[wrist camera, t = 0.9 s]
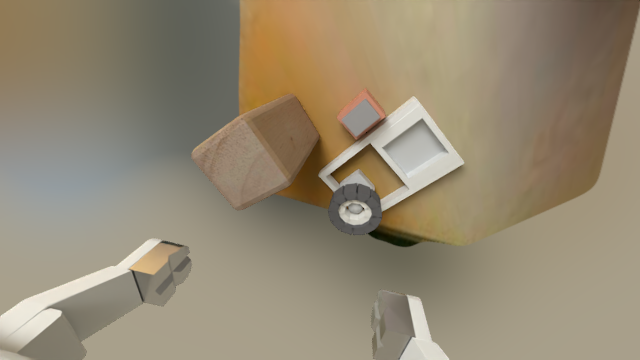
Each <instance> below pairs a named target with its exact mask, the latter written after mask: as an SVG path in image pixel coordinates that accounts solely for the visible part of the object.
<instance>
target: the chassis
mask: <svg viewBox="0 0 640 360" xmlns="http://www.w3.org/2000/svg"><path fill="white" fill-rule="evenodd" d="M369 143H371V145H372V146H373V147H374V148H375V149H376V150H377V152H378V153H379V154H380V155H381V156H382V157H383V159H384V160H385V161H386V162H387V163H388V164H389V166H390V167H391V168H392V169H393V170H394V171H395V173H396V174H397V175H398V176H399V177H400V178H401V180H402V181H403V182H404V183H405V185H404V186H402V187H400V188H399V189H397V190H395V191H394V192H392V193H391V194H389V195H387V196H386V197H384V198H383V199H381V200H380V202H381V209H382V212H383V211H384V210H386V209H388V208H389V207H391V206H393V205H395V204H396V203H398V202H400V201H401V200H403V199H405V198H406V197H408V196H410V195H412V194H413V193H415V192H417V191H418V190H420V189H422V188H423V187H425V186H427V185H429V184H430V183H432V182H434V181H435V180H437V179H439V178H440V177H442V176H444V175H446V174H447V173H449V172H451V171H452V170H454V169H456V168H457V167H459V166H461V165H463V164H464V161H463V160H462V159H461V157H460V156H459V154H458V153H457V152H456V150H455V149H454V148H453V146H452V145H451V144H450V142H449V141H448V140H447V138H446V137H445V136H444V134H443V133H442V132H441V130H440V129H439V128H438V126H437V125H436V124H435V122H434V121H433V120H432V118H431V117H430V116H429V114H428V113H427V112H426V110H425V109H424V108H423V106H422V105H421V104H420V102H419V101H418V100H417V98H415V97H414V96H413V97H412V98H410V99H409V100H408V101H407V102H405V103H404V104H403V105H402V106H400V107H399V108H398V109H397V110H395V111H394V112H393V113H392V114H390V115H389V116H388V117H387V118H385V119H384V120H383V121H382V122H380V123H379V124H378V125H376V126H375V127H374V128H373V129H371V130H370V131H369V132H368V133H366V134H365V135H364V136H363V137H361V138H360V139H359V140H358V141H356V142H355V143H354V144H353V145H351V146H350V147H349V148H348V149H346V150H345V151H344V152H343V153H341V154H340V155H339V156H338V157H336V158H335V159H334V160H333V161H331V162H330V163H329V164H328V165H326V166H325V167H324V168H323V169H321V170H320V172H319V175H318V176H319V177H320V178H321V179H322V180H323V181H324V182H325V183H326V184H327V185H328V186H329V187H330V188H331V189H332V190H333V191H334V192H335V191H336V190H337V189H339V188H340V187H342V186H343V185H344V186H345V184H353V183H357V186H358V184H359V183H360V184H362V185H365V186H368V187H370V189H371V188H372V189H373V190H374V191H375V187H374V185H373V183H372V182H371V181H370V180H369V179H368V178H367V177H366V176H365V175H364V174H363V172H362V171H361V170H360V169H358V170H356V171H355V172H353V173H352V174H351V175H349V176H348V177H347V178H345V179H344V180H342V181H341V182H340V184H339V183H338V182H337V181H336V180H335V179H334V178H333V177H332V176H331V175H330V173H332V172H333V171H334V170H335V169H337V168H338V167H339V166H341V165H342V164H343V163H345V162H346V161H347V160H348V159H350V158H351V157H352V156H354V155H355V154H356V153H358V152H359V151H360V150H361V149H363V148H364V147H365V146H367V145H368V144H369ZM348 209H349V211H350V212H351V213H354V214H357V213H360V212H362V211H363V210H364V209H363V208H362V205H361V204H356V203H351V204H349V205H348Z"/></svg>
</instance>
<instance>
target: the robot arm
mask: <svg viewBox="0 0 640 360" xmlns="http://www.w3.org/2000/svg"><path fill="white" fill-rule="evenodd" d="M189 253H190V252H189V247H187V246H184V245H180V244H176V243H172V242H168V241H164V240H159V239H156V238H153V239H149V240H148V241H146V242H145V243H144V244H143V245H142V246H140V247H139V248H138V249H137V250H135V251H134V252H133V253H132V254H130V255H129V256H128V257H127V258H126V259H124V260H123V261H122V262H121V263H119V264H118V265H117V266H116V267H115V266H110V267H108V268H105V269H102V270H100V271H97V272H95V273H92V274H89V275H87V276H84V277H82V278H79V279H77V280H74V281H71V282H69V283H66V284H64V285H61V286H58V287H56V288H53V289H51V290H48V291H45V292H43V293H40V294H38V295H35V296H32V297H30V298H27V299H25V300H23V301H22V302H20V303H19V304H17V305H16V306H14V307H13V308H11V309H10V310H9V311H7V312H6V313H5V314H3V315H1V316H0V360H82V359H83V358H84V357H85V356H86V352H87V351H86V349H85V348H84V346H83V344H82V343H81V341H83V340H85V339H86V338H88V337H89V336H91V335H93V334H94V333H96V332H98V331H99V330H101V329H102V328H104V327H106V326H107V325H109V324H111V323H112V322H114V321H115V320H117V319H119V318H120V317H122V316H124V315H125V314H127V313H128V312H130V311H132V310H133V309H135V308H136V307H138V306H140V305H141V304H143V302H144V303H149V304H153V305H158V306H164V305H165V304H166V303H167V301H168V300H169V299H170V298H171V297H172V295H173V294H174V293H175V290H176V286H177V285H179V284H181V283H183V282H184V281H185V279H186V278H187V277H188V275H189V273H190V271H191V266H192V263H191V259H190V258H189V257H188V256H187V255H188V254H189ZM371 326H372V329H373V331H374V332H375V333H374V336H373V338H372V349H373V359H376V360H449V358H448V357H447V356H446V355H445V354H444V352H443V351H442V350H441V348H440V347H439V346H438V344H437V343H435V342H432V340H431V336H430V332H429V328H428V325H427V322H426V317H425V314H424V310H423V306H422V302H421V300H420V298H419V297H414V296H410V295H405V294H402V293H397V292H392V291H388V290H383V289H380V290H379V291H378V294H377V301H376V302H374V305H373V308H372V315H371Z"/></svg>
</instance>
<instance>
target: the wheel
mask: <svg viewBox="0 0 640 360" xmlns="http://www.w3.org/2000/svg"><path fill="white" fill-rule="evenodd" d="M351 203H356V204H361V205H362V207H363V208H364V209H365V210H363V211H362V212H360V213H357V214H354V213H351V212H350V211H349V210H348V209H347V208H346V206H348V205H349V204H351ZM328 213H329V217H330V221H332V224H333V225H334V226H335V227H336V228H337V229H338V230H340V229H341V231H342V232H345V233H348V234H350V235H351V234H352V232H353V235H364V234H365V233H366V234H367V233H369V232H371V231H373V230H374V229H376V227H378V225H379V223H380V221H381V220H382V209H381V202H380V198H379V196H378V194H377V193H376V192H375V191H374V190H373V189H372V188H371V189H370V187H368V186H365V185H362V184H360V183H359V184H358V186H357V183H353V184H345V186H344V185H343V186H342V187H340V188H339V189H337V190H336V191H335V193H334V194H333V196H332V199H331V201H330V205H329V209H328Z"/></svg>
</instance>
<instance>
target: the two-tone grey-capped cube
mask: <svg viewBox="0 0 640 360" xmlns="http://www.w3.org/2000/svg"><path fill="white" fill-rule="evenodd" d="M385 117H386V115H385V112H384V110H383V108H382V107H381V106H380V105H379V103H378V102H377V101H376V100H375V98H374V97H373V96H372V95H371V94H370V92H369V91H368V90H367V89H366V88H365V89H364V90H363V91H362V92H361V93H360V94H359V95H358V96H357V97H355V98H354V99H353V100H352V101H351V102H350V103H349V104H348V105H347V106H346V107H344V108H343V109H342V110H341V111H340V112H339V114H338V116H337V119H338V120H339V121H340V122H341V123H342V125H343V126H344V127H345V128H346V129H347V130H348V131H349V133H350V134H351V135H352V136H353V137H354V138H355V139H356V140H357V139H358V138H360V137H361V136H362V135H363V134H365V133H366V132H367V131H368V130H370V129H371V128H372V127H373V126H375V125H376V124H377V123H378V122H380V121H381V120H382V119H383V118H385Z"/></svg>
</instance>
